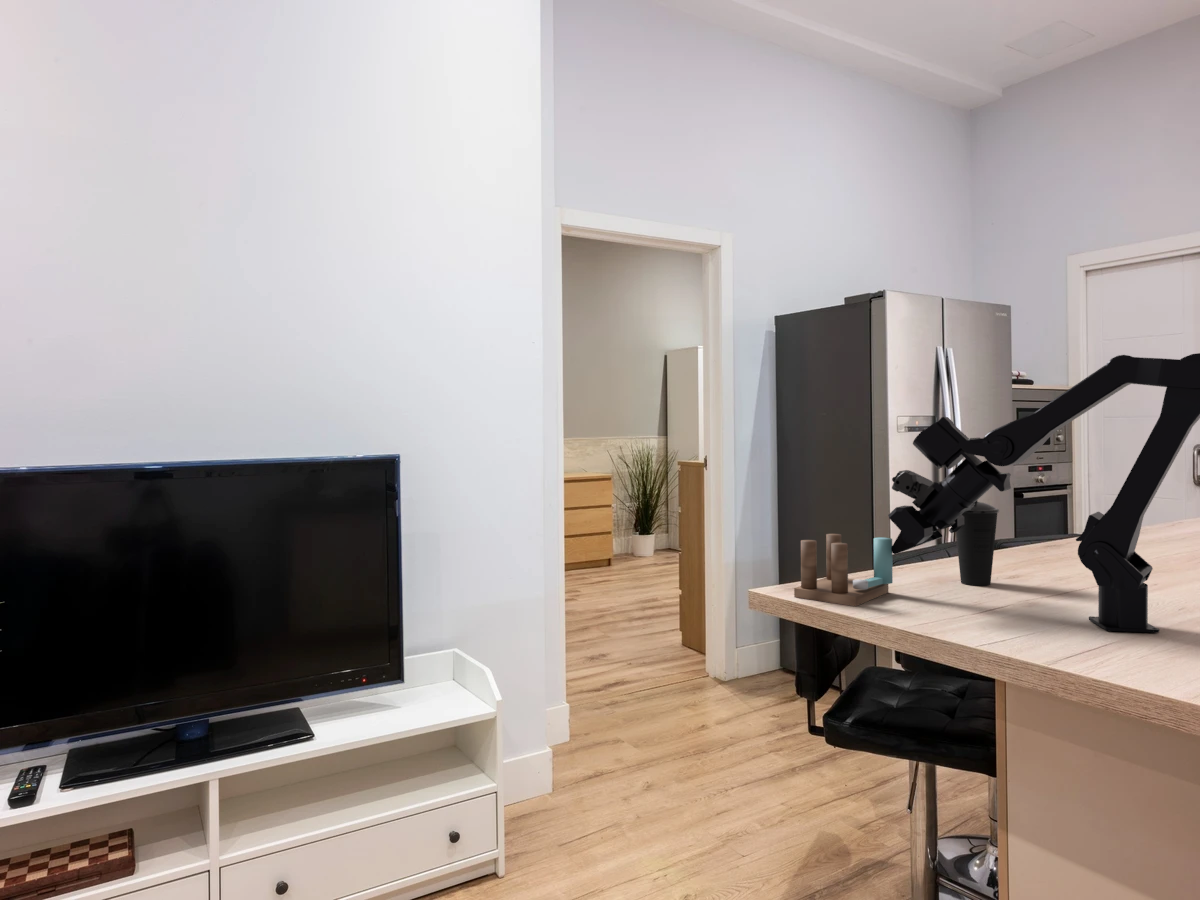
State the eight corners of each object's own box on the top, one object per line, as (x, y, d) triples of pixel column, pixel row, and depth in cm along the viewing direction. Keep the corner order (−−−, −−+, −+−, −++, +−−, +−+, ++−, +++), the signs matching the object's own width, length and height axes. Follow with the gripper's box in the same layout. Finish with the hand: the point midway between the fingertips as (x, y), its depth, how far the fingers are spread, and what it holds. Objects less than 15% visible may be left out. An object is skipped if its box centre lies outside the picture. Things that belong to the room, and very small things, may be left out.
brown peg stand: (888, 592, 131) (888, 537, 131) (855, 606, 121) (855, 547, 121) (829, 584, 138) (829, 532, 138) (794, 597, 129) (793, 541, 128)
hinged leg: (864, 590, 124) (864, 544, 123) (848, 587, 126) (848, 542, 126) (895, 582, 130) (895, 538, 129) (879, 579, 132) (879, 536, 132)
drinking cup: (988, 579, 141) (988, 472, 140) (1006, 587, 133) (1006, 474, 133) (946, 579, 142) (945, 472, 141) (961, 587, 134) (961, 474, 133)
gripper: (944, 451, 131) (883, 511, 139) (900, 456, 118) (835, 522, 126) (994, 499, 126) (927, 558, 134) (953, 509, 113) (882, 574, 121)
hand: (893, 551), depth 129 cm, fingers closed, pressing on hinged leg
